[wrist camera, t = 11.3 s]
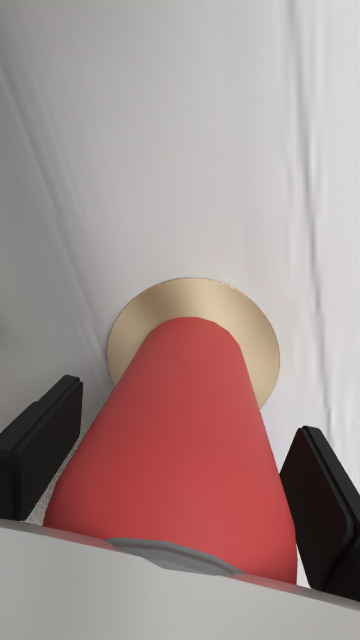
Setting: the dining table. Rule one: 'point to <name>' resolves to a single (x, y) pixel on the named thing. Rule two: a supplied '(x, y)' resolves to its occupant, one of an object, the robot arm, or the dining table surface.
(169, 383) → the beer can
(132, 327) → the disc
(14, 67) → the dining table surface
